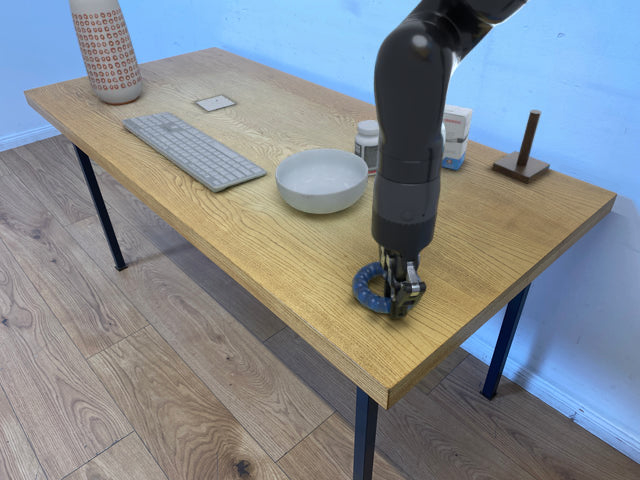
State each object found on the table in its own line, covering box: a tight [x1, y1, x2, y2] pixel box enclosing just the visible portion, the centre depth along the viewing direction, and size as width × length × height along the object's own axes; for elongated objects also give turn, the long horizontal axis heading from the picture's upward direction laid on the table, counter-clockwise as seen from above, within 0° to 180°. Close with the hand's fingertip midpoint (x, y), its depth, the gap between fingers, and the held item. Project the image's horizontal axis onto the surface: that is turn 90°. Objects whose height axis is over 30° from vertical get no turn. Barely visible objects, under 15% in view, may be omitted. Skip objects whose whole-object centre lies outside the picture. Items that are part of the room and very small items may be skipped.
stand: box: [491, 109, 551, 185], centre depth 93 cm, size 8×8×12 cm
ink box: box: [441, 103, 474, 171], centre depth 97 cm, size 8×5×12 cm, turn 59°
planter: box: [68, 0, 143, 106], centre depth 124 cm, size 13×13×28 cm
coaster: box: [195, 95, 236, 112], centre depth 128 cm, size 8×8×1 cm
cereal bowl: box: [274, 147, 369, 215], centre depth 87 cm, size 17×17×7 cm
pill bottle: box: [354, 119, 379, 176], centre depth 95 cm, size 6×6×10 cm
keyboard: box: [121, 111, 268, 193], centre depth 106 cm, size 44×12×2 cm, turn 41°
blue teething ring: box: [351, 260, 422, 315], centre depth 68 cm, size 10×10×2 cm
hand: (394, 307), depth 65 cm, fingers closed on blue teething ring, 2 cm apart
